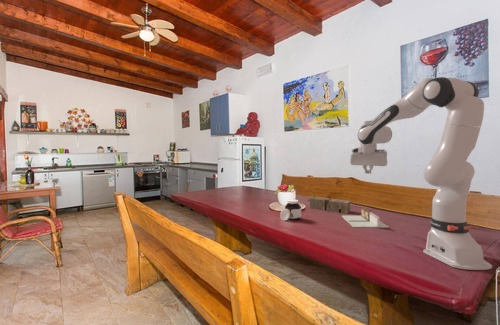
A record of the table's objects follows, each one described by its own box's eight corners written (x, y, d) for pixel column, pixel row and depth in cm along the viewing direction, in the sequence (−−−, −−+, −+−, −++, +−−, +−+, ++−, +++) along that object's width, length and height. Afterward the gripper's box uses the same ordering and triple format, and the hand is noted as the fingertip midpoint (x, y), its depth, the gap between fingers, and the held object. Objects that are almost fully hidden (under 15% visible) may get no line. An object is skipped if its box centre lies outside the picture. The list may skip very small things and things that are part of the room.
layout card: (388, 227, 144) (388, 226, 144) (353, 227, 146) (353, 226, 146) (371, 216, 168) (371, 215, 168) (341, 216, 170) (341, 215, 170)
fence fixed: (371, 222, 155) (371, 210, 155) (368, 222, 155) (369, 210, 155) (363, 216, 168) (363, 206, 167) (361, 216, 168) (361, 206, 168)
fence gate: (379, 226, 144) (379, 217, 143) (377, 226, 144) (377, 217, 143) (371, 221, 154) (371, 212, 154) (369, 221, 155) (369, 212, 154)
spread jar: (302, 217, 167) (302, 199, 167) (297, 222, 157) (297, 203, 157) (284, 216, 172) (284, 198, 172) (278, 220, 162) (278, 201, 162)
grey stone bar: (351, 213, 182) (312, 206, 201) (351, 201, 181) (313, 195, 200) (347, 215, 176) (307, 208, 195) (347, 203, 175) (308, 196, 194)
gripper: (389, 149, 146) (389, 174, 147) (354, 149, 161) (354, 172, 162) (384, 149, 142) (384, 175, 142) (349, 149, 157) (348, 172, 158)
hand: (368, 173), depth 152 cm, fingers closed
